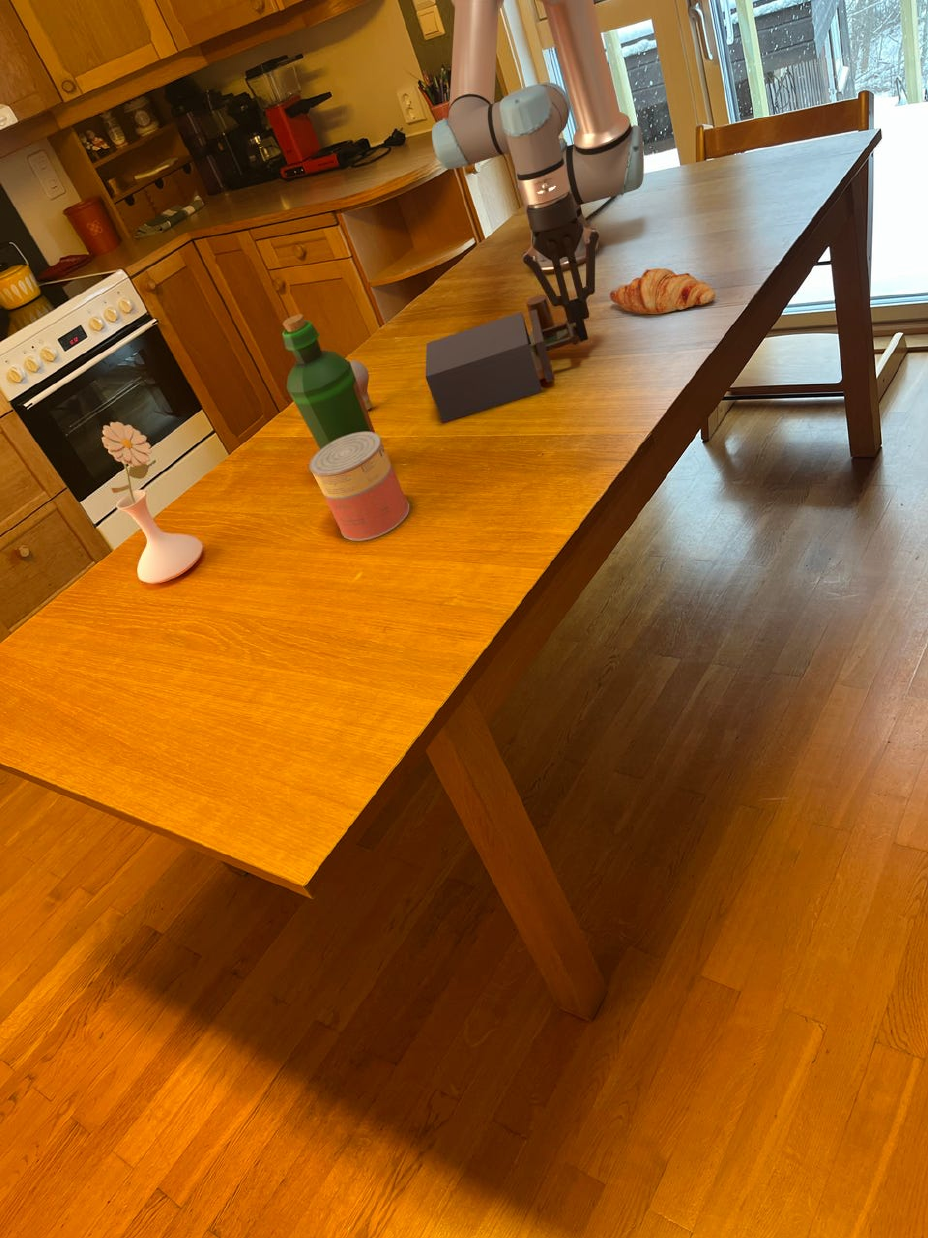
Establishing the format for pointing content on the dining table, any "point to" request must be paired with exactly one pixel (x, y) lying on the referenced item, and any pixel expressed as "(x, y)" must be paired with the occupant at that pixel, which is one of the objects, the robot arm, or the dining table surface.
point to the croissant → (662, 292)
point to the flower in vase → (163, 550)
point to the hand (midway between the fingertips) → (583, 337)
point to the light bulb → (362, 381)
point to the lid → (544, 318)
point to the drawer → (541, 348)
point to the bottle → (323, 386)
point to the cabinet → (481, 368)
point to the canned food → (360, 486)
